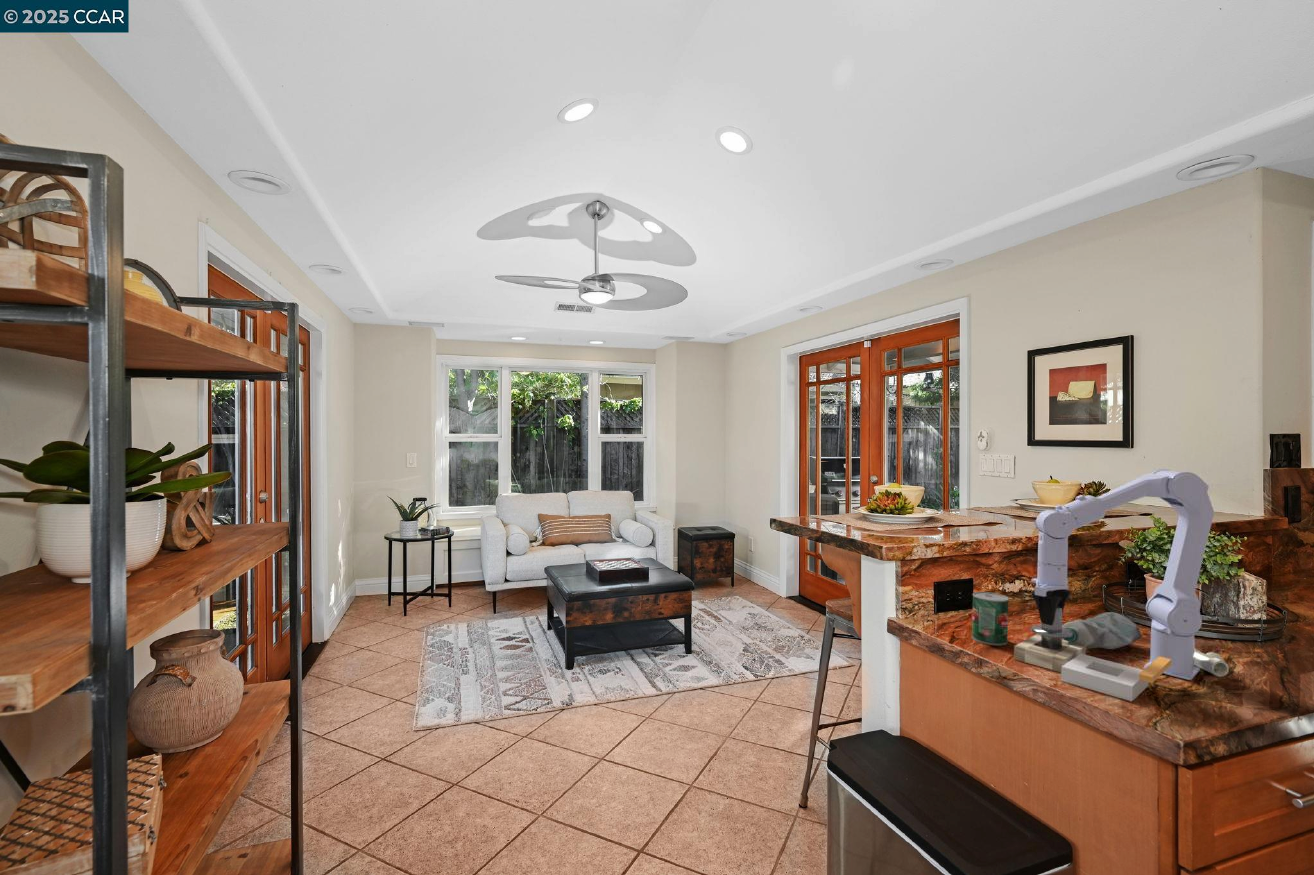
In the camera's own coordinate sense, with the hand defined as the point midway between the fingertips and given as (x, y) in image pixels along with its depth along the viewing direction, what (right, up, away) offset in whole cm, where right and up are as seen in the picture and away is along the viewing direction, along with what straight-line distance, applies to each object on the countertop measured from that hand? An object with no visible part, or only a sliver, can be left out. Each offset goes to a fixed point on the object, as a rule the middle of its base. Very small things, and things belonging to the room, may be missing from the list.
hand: (1050, 622), depth 139 cm
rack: (0, -9, 0) cm, 8 cm away
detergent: (+15, -8, +8) cm, 19 cm away
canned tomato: (-7, -8, +12) cm, 17 cm away
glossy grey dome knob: (0, -6, 0) cm, 6 cm away
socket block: (+3, -9, -13) cm, 16 cm away
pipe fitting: (+33, -10, -5) cm, 34 cm away
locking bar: (+10, -5, -17) cm, 20 cm away
